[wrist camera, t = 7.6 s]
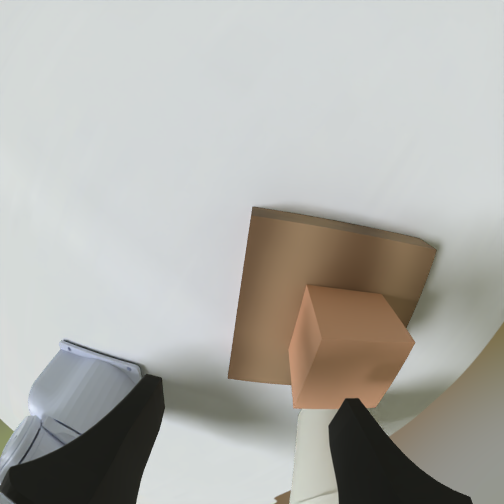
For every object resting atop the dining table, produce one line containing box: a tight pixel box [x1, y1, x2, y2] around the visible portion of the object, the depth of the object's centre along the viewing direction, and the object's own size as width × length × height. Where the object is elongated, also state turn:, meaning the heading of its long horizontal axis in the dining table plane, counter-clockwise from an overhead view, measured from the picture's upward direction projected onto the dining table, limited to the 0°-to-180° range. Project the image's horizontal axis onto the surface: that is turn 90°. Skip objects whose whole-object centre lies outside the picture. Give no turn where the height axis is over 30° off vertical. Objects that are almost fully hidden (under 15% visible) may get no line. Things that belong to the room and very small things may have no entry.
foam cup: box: [289, 409, 339, 504], centre depth 17 cm, size 10×9×13 cm
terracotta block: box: [288, 285, 415, 409], centre depth 14 cm, size 5×5×5 cm
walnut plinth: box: [228, 207, 437, 385], centre depth 18 cm, size 12×12×3 cm
